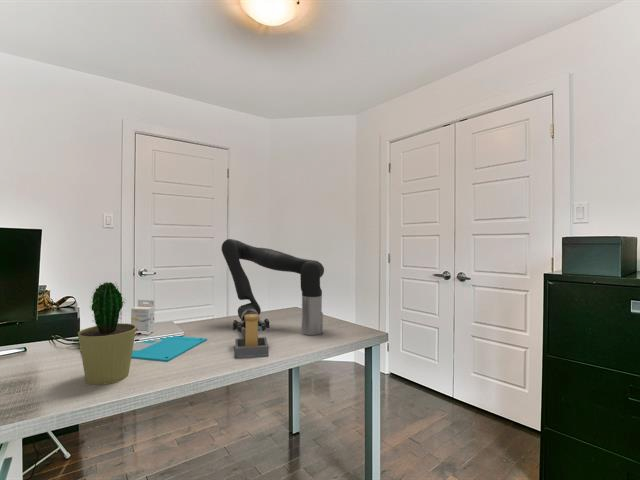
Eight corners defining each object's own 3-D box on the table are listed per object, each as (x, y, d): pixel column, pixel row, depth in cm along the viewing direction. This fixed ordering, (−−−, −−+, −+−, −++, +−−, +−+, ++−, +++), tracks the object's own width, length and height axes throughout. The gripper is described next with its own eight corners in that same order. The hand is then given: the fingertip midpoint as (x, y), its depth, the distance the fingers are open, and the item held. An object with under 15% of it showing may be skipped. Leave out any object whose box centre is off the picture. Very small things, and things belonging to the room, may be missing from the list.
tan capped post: (258, 346, 132) (258, 313, 132) (258, 350, 127) (259, 316, 127) (244, 346, 131) (244, 314, 131) (244, 351, 126) (244, 317, 126)
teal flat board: (168, 362, 118) (168, 359, 118) (99, 356, 123) (99, 353, 123) (207, 340, 144) (207, 338, 144) (149, 336, 149) (149, 334, 149)
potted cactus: (142, 377, 104) (143, 280, 104) (82, 393, 94) (82, 285, 93) (129, 363, 115) (129, 276, 115) (73, 376, 105) (74, 279, 105)
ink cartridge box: (130, 334, 150) (130, 301, 150) (137, 331, 155) (137, 299, 155) (148, 335, 150) (148, 301, 149) (154, 332, 154) (155, 299, 154)
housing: (265, 345, 136) (266, 337, 136) (268, 355, 125) (268, 346, 125) (235, 347, 134) (235, 338, 134) (235, 358, 122) (235, 348, 122)
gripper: (233, 310, 143) (232, 320, 127) (267, 309, 146) (270, 318, 131) (233, 328, 143) (232, 339, 127) (267, 326, 146) (270, 337, 131)
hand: (251, 328), depth 129 cm, fingers open, 8 cm apart
